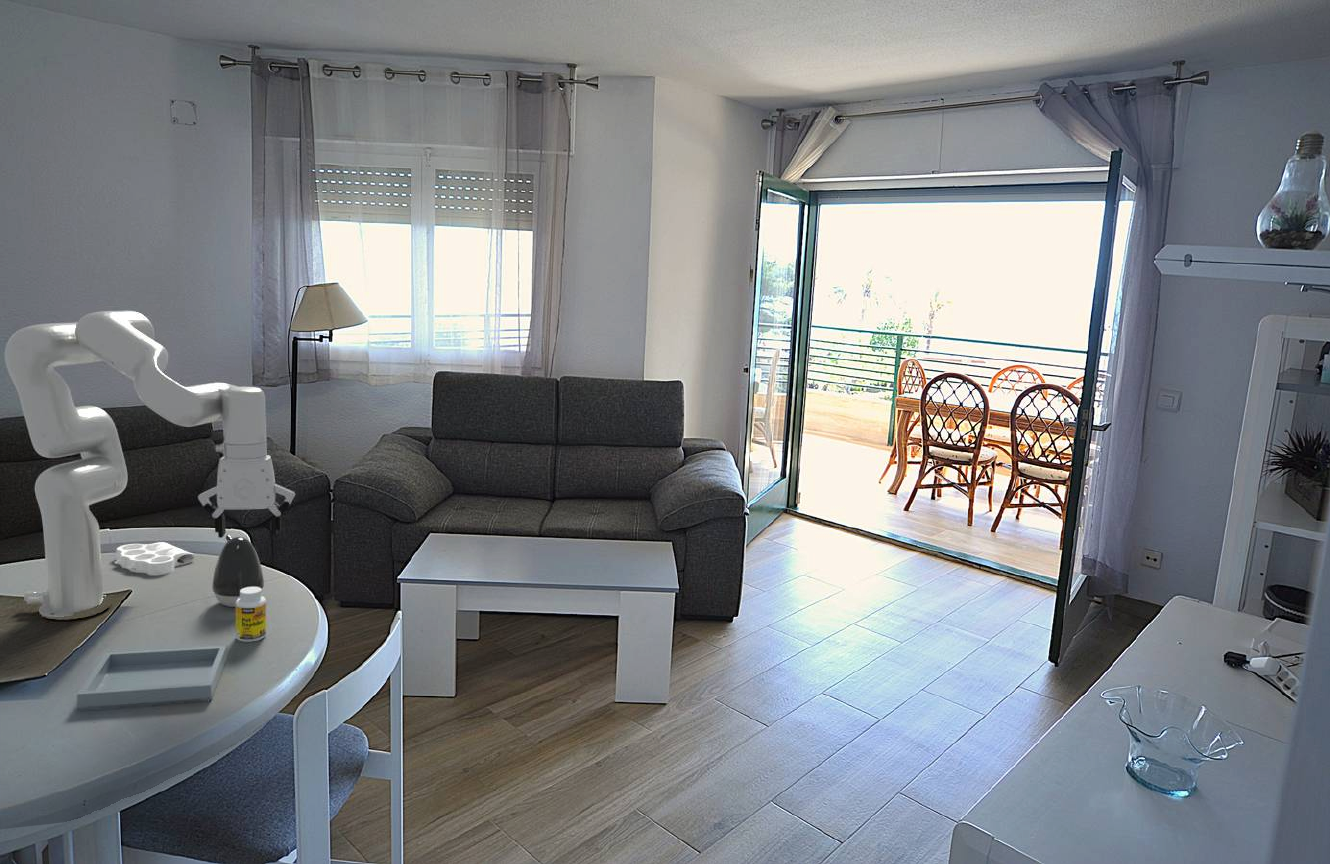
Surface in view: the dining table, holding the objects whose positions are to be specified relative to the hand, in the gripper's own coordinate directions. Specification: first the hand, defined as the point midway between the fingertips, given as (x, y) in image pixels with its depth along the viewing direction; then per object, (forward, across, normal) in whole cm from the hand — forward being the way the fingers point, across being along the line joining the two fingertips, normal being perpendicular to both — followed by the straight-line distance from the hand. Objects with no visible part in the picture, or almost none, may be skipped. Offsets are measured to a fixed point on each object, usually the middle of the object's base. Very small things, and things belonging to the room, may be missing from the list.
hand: (248, 534), depth 171 cm
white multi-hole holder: (+21, -30, +47) cm, 59 cm away
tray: (+22, -13, -18) cm, 31 cm away
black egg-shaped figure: (+22, -6, +19) cm, 30 cm away
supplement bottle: (+22, 0, 0) cm, 22 cm away
